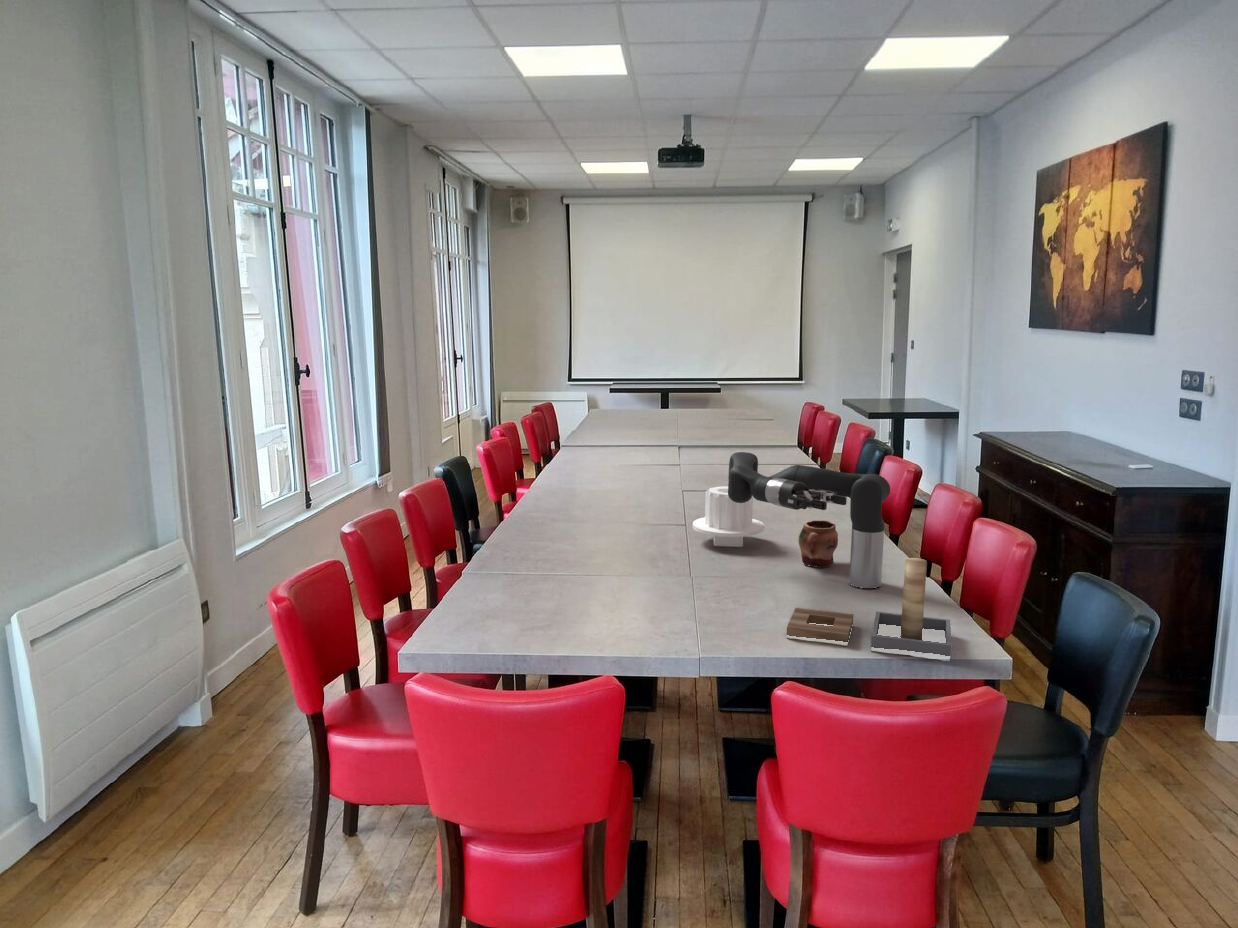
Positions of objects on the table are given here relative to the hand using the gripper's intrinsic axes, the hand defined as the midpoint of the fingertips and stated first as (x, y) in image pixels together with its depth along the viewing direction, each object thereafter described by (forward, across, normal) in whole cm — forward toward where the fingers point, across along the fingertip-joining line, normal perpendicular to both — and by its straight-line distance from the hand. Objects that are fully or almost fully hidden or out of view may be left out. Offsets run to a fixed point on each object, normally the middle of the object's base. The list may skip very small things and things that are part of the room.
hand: (835, 503), depth 221 cm
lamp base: (-70, -37, -32) cm, 86 cm away
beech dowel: (+22, -3, -31) cm, 38 cm away
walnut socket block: (+3, +8, -32) cm, 33 cm away
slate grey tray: (+22, -3, -32) cm, 39 cm away
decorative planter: (-33, -38, -32) cm, 60 cm away
